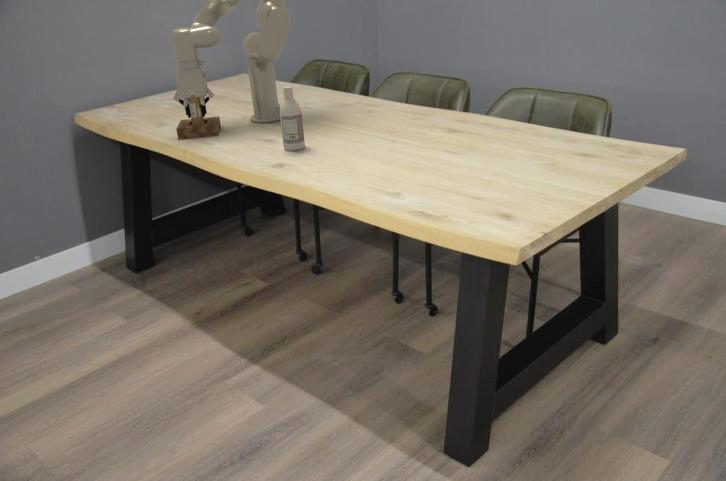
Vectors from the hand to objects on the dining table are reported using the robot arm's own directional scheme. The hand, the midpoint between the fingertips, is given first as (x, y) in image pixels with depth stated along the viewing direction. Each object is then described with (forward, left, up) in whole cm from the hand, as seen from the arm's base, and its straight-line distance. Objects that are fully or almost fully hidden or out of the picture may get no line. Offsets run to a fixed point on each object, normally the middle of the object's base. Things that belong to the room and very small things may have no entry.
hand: (196, 116), depth 258 cm
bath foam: (-34, +30, -7) cm, 46 cm away
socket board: (0, 0, -6) cm, 6 cm away
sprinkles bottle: (0, 0, -4) cm, 4 cm away
